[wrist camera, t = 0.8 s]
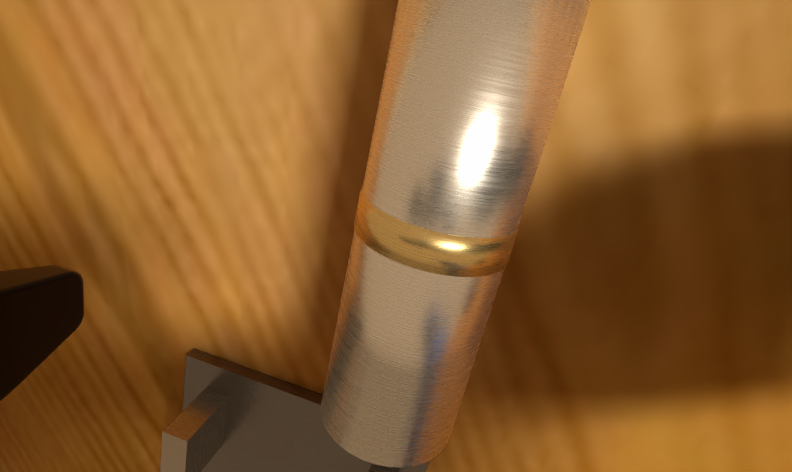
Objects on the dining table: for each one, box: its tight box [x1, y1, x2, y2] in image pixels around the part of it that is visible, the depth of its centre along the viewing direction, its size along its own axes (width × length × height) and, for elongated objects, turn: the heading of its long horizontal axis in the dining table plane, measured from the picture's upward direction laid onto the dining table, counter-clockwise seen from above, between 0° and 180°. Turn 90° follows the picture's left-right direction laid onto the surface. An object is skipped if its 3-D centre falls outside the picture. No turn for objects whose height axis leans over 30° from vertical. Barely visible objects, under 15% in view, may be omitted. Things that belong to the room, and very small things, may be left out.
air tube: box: [321, 0, 591, 467], centre depth 17 cm, size 5×16×5 cm, turn 168°
